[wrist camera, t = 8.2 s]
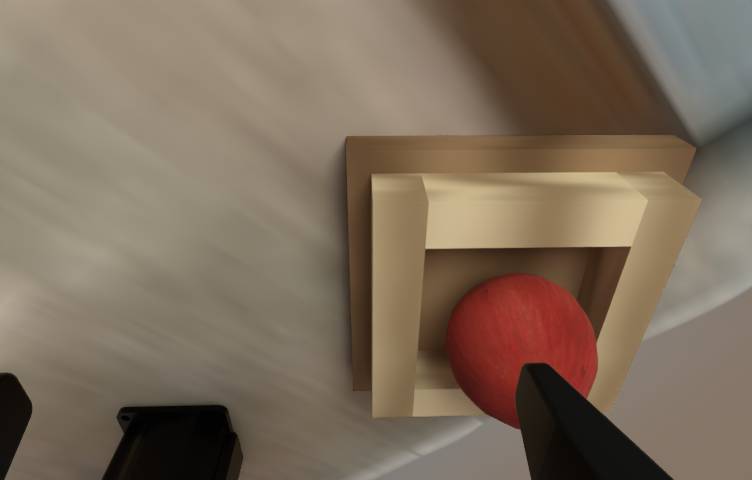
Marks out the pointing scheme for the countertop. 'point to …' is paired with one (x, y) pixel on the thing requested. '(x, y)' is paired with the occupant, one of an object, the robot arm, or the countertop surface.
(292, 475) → the countertop surface
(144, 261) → the countertop surface
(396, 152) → the cradle board
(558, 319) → the onion
